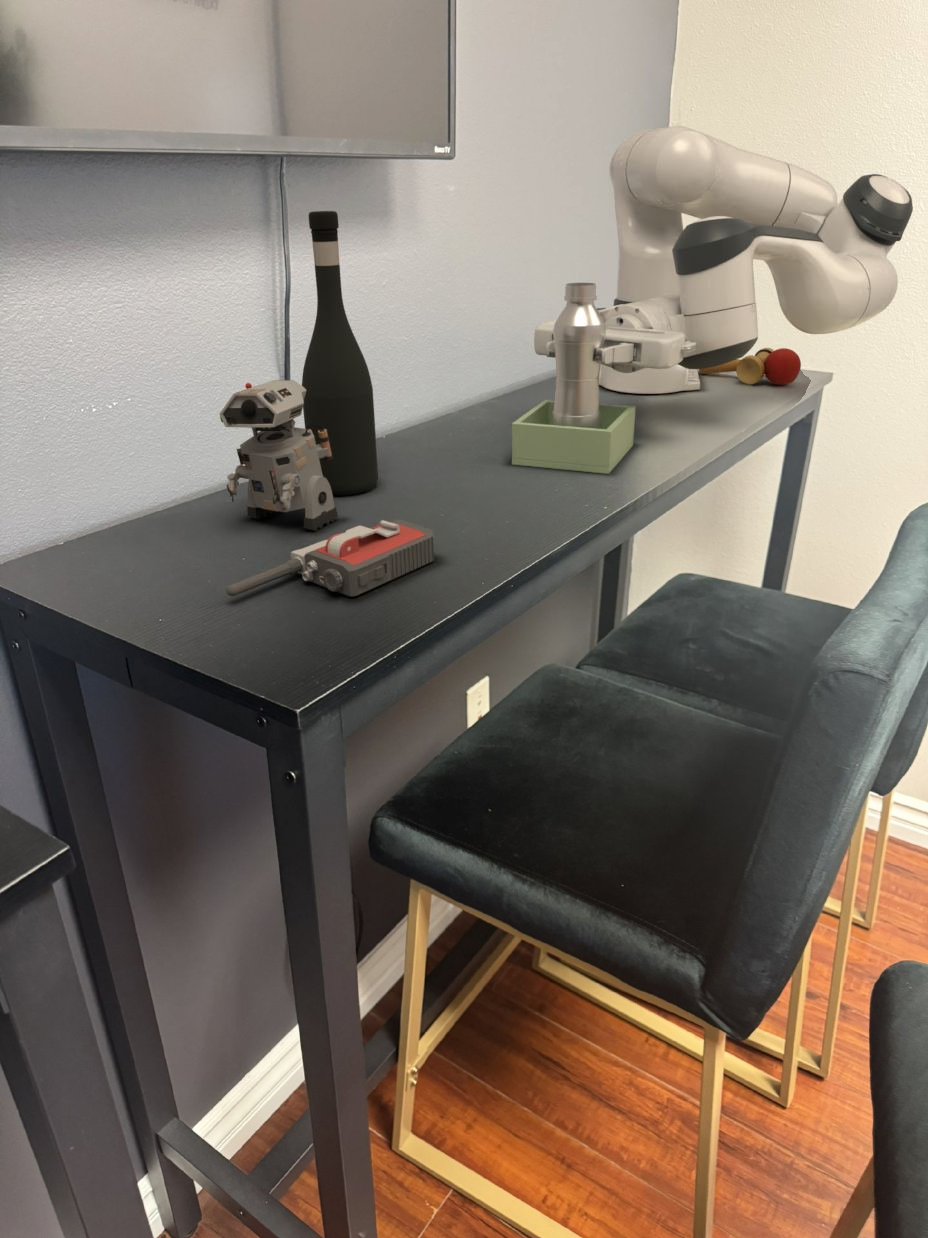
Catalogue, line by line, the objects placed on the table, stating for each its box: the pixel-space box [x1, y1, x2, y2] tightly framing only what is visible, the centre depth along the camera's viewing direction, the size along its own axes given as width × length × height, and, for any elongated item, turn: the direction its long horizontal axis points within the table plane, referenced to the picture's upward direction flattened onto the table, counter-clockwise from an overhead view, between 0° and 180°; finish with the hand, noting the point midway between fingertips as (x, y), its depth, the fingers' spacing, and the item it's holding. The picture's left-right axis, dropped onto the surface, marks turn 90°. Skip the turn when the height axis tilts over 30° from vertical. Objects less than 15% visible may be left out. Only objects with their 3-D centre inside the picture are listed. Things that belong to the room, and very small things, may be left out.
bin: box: [511, 399, 636, 475], centre depth 116 cm, size 14×13×5 cm
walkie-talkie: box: [225, 518, 435, 598], centre depth 82 cm, size 9×4×20 cm
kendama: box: [698, 347, 802, 386], centre depth 156 cm, size 8×6×18 cm
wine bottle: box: [301, 210, 379, 496], centre depth 100 cm, size 8×8×30 cm
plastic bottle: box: [550, 282, 606, 429], centre depth 113 cm, size 6×7×20 cm
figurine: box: [219, 379, 338, 532], centre depth 92 cm, size 9×12×15 cm
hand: (574, 353), depth 111 cm, fingers closed on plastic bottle, 6 cm apart
